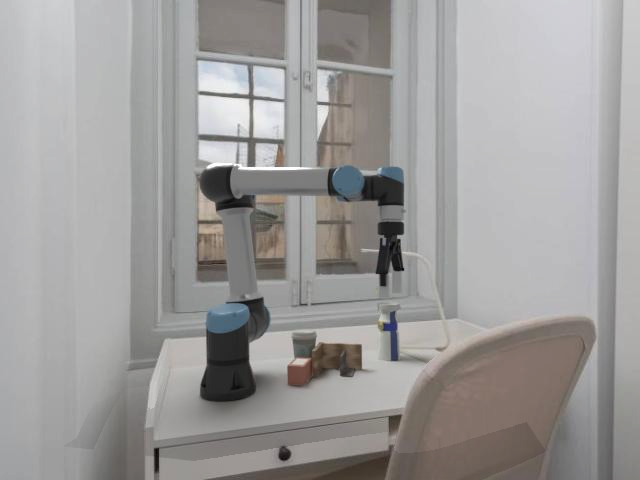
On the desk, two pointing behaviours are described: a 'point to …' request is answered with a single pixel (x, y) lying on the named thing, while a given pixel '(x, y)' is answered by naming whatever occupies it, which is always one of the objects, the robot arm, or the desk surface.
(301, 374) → the red box
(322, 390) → the desk surface
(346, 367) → the shelf
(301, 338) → the coffee cup
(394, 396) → the desk surface
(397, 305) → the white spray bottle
